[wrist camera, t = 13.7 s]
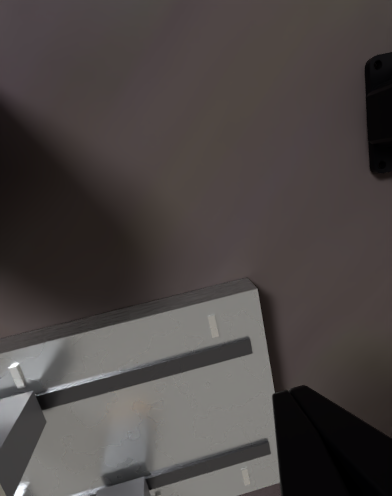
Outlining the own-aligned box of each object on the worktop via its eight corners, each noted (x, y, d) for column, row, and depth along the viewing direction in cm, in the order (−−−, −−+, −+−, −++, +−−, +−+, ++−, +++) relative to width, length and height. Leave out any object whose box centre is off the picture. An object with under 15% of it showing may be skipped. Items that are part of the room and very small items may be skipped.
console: (247, 277, 19) (264, 296, 16) (277, 454, 23) (297, 497, 20) (-74, 357, 18) (-123, 395, 14) (17, 532, 21) (-7, 592, 18)
